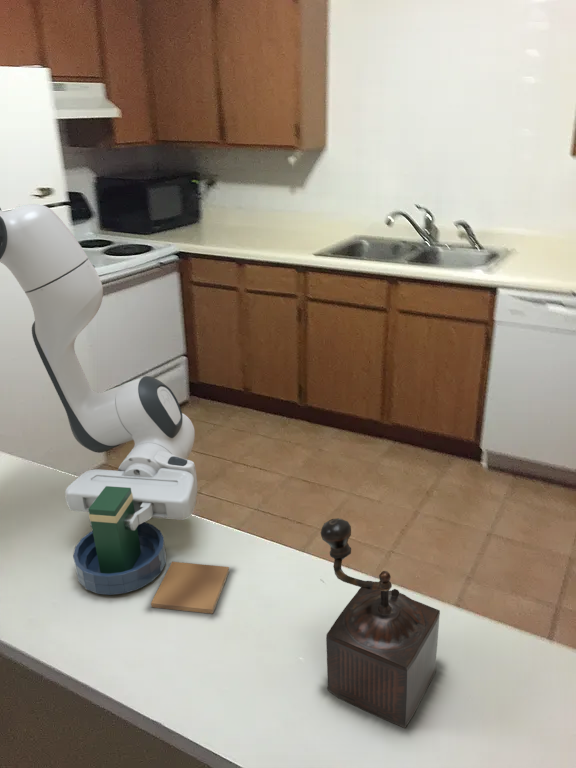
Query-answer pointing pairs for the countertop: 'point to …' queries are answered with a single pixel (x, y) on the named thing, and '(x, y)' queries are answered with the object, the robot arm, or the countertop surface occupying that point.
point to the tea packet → (114, 530)
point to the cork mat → (191, 587)
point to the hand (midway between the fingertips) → (111, 524)
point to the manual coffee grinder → (379, 642)
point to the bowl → (126, 581)
